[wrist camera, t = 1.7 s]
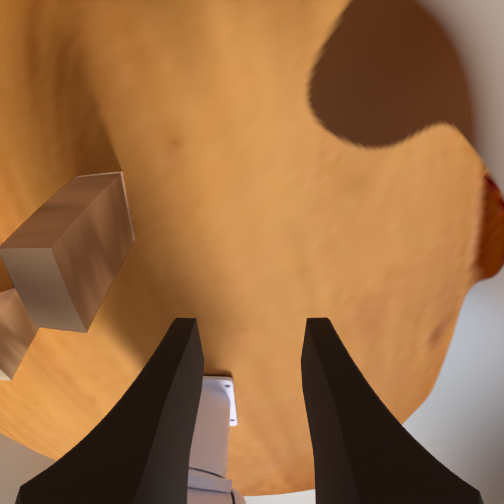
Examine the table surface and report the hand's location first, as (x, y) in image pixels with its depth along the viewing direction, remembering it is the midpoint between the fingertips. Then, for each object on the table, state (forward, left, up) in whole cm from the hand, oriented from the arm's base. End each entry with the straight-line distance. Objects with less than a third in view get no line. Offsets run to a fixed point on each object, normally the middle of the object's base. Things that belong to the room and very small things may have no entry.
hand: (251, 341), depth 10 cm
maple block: (-9, +21, -10) cm, 25 cm away
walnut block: (0, +9, -10) cm, 13 cm away
